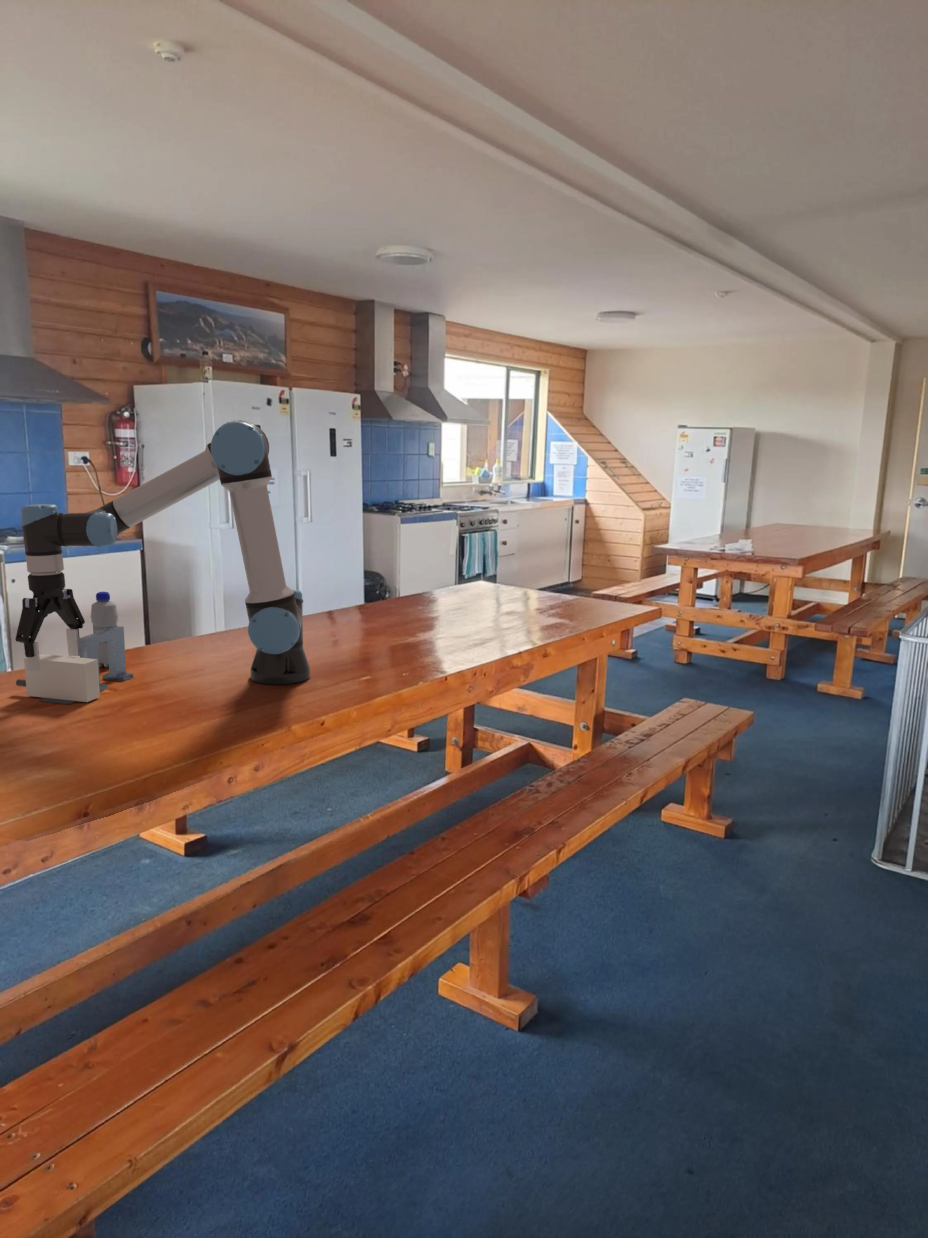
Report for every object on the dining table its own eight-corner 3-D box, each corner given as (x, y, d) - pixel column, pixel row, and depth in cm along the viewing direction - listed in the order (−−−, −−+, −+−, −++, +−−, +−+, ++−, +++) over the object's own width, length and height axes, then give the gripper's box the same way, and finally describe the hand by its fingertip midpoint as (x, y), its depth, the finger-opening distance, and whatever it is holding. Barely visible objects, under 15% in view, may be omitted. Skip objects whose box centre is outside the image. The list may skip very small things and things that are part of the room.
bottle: (92, 669, 220) (87, 594, 216) (95, 662, 226) (91, 589, 222) (119, 668, 222) (115, 593, 218) (122, 661, 228) (118, 589, 224)
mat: (92, 694, 198) (92, 693, 198) (69, 704, 191) (69, 703, 190) (62, 691, 200) (62, 690, 200) (38, 701, 192) (38, 699, 192)
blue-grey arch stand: (133, 677, 214) (130, 627, 211) (96, 692, 200) (93, 639, 197) (112, 675, 215) (109, 625, 212) (74, 690, 201) (71, 637, 198)
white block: (99, 696, 196) (97, 659, 194) (87, 702, 191) (84, 664, 190) (26, 688, 200) (23, 652, 198) (12, 694, 196) (9, 656, 194)
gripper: (68, 564, 204) (76, 649, 208) (-10, 580, 180) (1, 676, 184) (95, 565, 202) (103, 650, 207) (20, 581, 178) (31, 678, 183)
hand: (55, 662), depth 196 cm, fingers open, 13 cm apart
